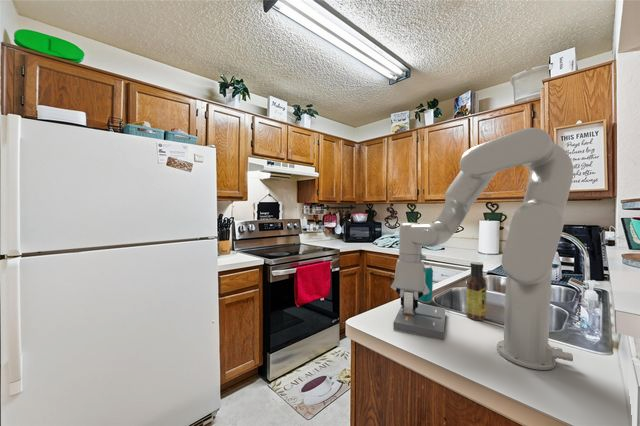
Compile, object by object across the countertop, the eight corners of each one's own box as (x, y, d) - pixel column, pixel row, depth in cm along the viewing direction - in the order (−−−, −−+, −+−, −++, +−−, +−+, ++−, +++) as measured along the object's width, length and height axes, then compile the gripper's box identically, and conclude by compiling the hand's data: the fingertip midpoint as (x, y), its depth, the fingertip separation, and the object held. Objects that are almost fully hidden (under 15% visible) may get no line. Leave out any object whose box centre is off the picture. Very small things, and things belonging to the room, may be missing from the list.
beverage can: (429, 299, 113) (430, 264, 113) (434, 304, 108) (434, 268, 107) (416, 298, 114) (416, 264, 113) (419, 303, 108) (420, 267, 108)
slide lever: (415, 309, 95) (416, 289, 94) (414, 315, 90) (414, 293, 90) (404, 307, 97) (404, 287, 96) (402, 312, 92) (402, 291, 92)
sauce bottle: (485, 322, 91) (487, 266, 90) (465, 318, 94) (466, 264, 94) (485, 315, 97) (487, 262, 96) (466, 312, 100) (467, 260, 99)
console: (445, 314, 97) (445, 308, 97) (443, 340, 80) (443, 331, 79) (403, 307, 104) (403, 301, 104) (393, 329, 86) (393, 321, 86)
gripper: (435, 257, 92) (434, 308, 93) (389, 253, 100) (388, 300, 100) (434, 262, 86) (433, 317, 86) (384, 257, 93) (383, 307, 94)
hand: (409, 307), depth 93 cm, fingers closed on slide lever, 3 cm apart
